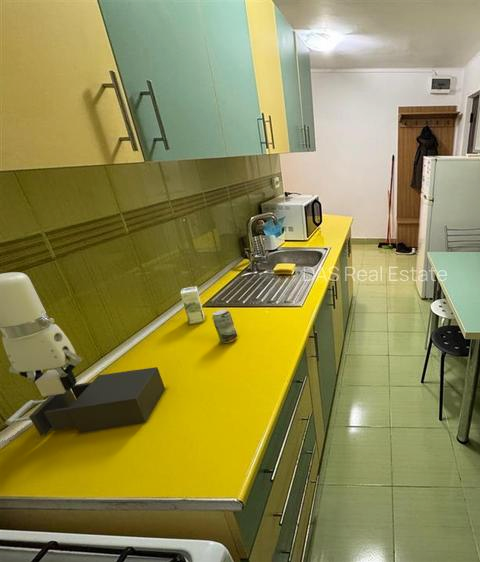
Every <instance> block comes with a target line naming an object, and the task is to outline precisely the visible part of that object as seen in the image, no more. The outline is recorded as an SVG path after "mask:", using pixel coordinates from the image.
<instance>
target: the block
mask: <svg viewBox="0 0 480 562" xmlns="http://www.w3.org/2000/svg"><path fill="white" fill-rule="evenodd" d="M63 368H64V370H65V369H66V368H65V367H63ZM44 373H45V374H44ZM44 373H43V375H42V376H41V377H40V378H39V379H37V380H36V381H35V383H34V385H35V384H36V385H35V387H36V386H37V387H36V388H38V389H37V390H38V392H39V391H40V392H39V394H40V393H41V394H40V395H41V397H50V396H51V395H57V394H64V393H65V392H66V391H67V390H65V388H64V386H63V384H62V382H61V380H60V377H62V376H61V375H60V374H59V373H58V372H57V371H56V370H55V369H54V368H53V369H47V371H45V372H44Z"/></svg>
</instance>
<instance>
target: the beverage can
mask: <svg viewBox="0 0 480 562" xmlns="http://www.w3.org/2000/svg"><path fill="white" fill-rule="evenodd" d="M211 319H212V323H213V324H214V327H215V330H216V333H217V336H218V338H219V339H218V340H219V342H220V343H224V344H227V343H231V342H233V341H235V340H236V338H237V337H238V333H237V329H236V327H235V323H234V321H233V317H232V314H231V312H230V311H229V310H228V309H227V308H224V309H223V308H222V309H219V310H216V311H214V312H213V313H212V317H211Z"/></svg>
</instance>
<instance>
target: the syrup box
mask: <svg viewBox="0 0 480 562" xmlns="http://www.w3.org/2000/svg"><path fill="white" fill-rule="evenodd" d="M180 297H181V300H182V304H183V308H184V310H185V315H186V318H187V321H188V325H189V326H190V325H194V324H200V323H203V322H205V313H204V310H203V305H202V301H201V297H200V294H199V290H198V286H196V285H195V286H189V287H184V288H181V289H180Z"/></svg>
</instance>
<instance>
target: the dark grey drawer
mask: <svg viewBox="0 0 480 562" xmlns="http://www.w3.org/2000/svg"><path fill="white" fill-rule="evenodd" d="M92 382H93V381H90V382H83V383H76V384H75V385H74V386H73V387H72V388H71V389H70V390H67V391H66V392H65V393H64V394H57V395H50V396H48V398H47V399H40V400H34V399H29V400H30V401H29V400H28V401H29V402H28V401H26V403H25V404H23V406H21V407H20V408H19V409H18V410H17V411H16V412H14V413H13V414H12V415H11V416H10V417H9V418H8V419H7V420H5V422H4V424H5V425H6V426H12V425H13V424H15V423H21V422H27V421H31V423H32V424H33V427H34V428H35V430H36V431H37V433H38V435H39V436H47V434H48V433H49V432H50V431H51V430H53V431H59V430H66V429H71V428H77V427H76V425H75V423H74V421H73V419H72V417H71V416H70V414H69V411H68V410H67V409H68V408H69V407H70V406H71V404H72V403H73V402H74V401H75V400H76V399H77V398H78V397H79V396H80V395H81V394H82V393H83V391H84V390H85V389H86V388H87V387H88V386H89V385H90V384H91V383H92ZM39 404H40V405H39ZM34 405H39V406H38V407H37V408H36V409H35V410H34V411H32V413H31V414H30V415H29V416H26V417H25V416H24V417H22V416H23V415H24V414H25V413H26V412H27V411H28V410H29V409H30V408H32V407H33V406H34Z"/></svg>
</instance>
